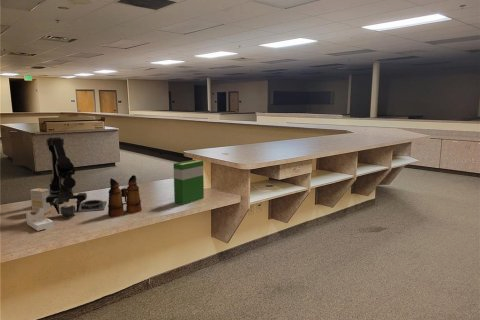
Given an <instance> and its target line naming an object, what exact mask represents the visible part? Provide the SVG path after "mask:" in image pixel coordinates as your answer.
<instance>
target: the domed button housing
mask: <svg viewBox="0 0 480 320" xmlns="http://www.w3.org/2000/svg"><path fill="white" fill-rule="evenodd" d="M59 210H60V215H62V217H63V218H70V217H74V216H75V214H76V213H77V212H76V206H75V205H73V204H67V205H62V206H59Z"/></svg>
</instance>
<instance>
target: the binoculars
mask: <svg viewBox="0 0 480 320" xmlns="http://www.w3.org/2000/svg"><path fill="white" fill-rule="evenodd" d="M109 185H110V189H108V202H107V207H108V209H107V210H108V211H107V216H108V217H110V218H119V217H122V216H124V215H125V212H126V213H128V214H136V213H137V214H138V213H140V212H142V200H141V197H140V196H141V195H140V190H139V189H140V187H139V185H138V184H137V177H136V175H135V174H132V175H131V176H130V177H129V179H128V183H127V185H128V186H127V187H123V188H120V183H119V182H117V181H116V179H114V178H110V181H109ZM123 198H124V202H123ZM124 205H126V209H125V210H124Z"/></svg>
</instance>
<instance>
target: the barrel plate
mask: <svg viewBox="0 0 480 320" xmlns="http://www.w3.org/2000/svg"><path fill="white" fill-rule="evenodd" d="M107 205H108V201H107V200H105V201H103V200H101V199H91V200H90V199H89V200H84V201H83V202H81V204H80V207H79V210H78V213H80V212H81V213H83V212H93V211H94V212H95V211H104V210H105V208H106V206H107ZM75 211H76V210H75ZM75 213H77V211H76V212H75Z"/></svg>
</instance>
